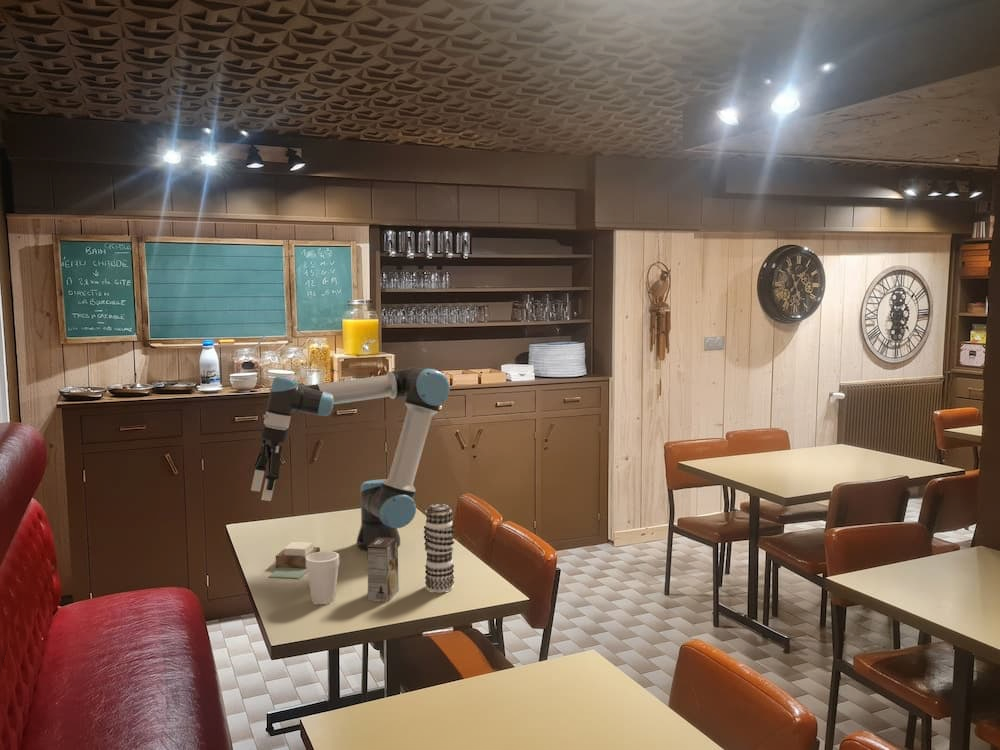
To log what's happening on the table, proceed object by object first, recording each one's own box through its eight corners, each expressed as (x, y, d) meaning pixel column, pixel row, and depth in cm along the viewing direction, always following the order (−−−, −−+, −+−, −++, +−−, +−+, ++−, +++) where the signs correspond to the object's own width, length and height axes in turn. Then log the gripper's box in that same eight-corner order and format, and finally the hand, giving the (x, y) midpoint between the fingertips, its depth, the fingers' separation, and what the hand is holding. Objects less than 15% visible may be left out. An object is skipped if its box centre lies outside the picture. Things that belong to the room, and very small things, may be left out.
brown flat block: (320, 559, 256) (319, 547, 255) (308, 569, 246) (308, 557, 245) (288, 557, 257) (288, 546, 257) (275, 567, 247) (275, 555, 247)
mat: (309, 569, 245) (309, 568, 245) (299, 579, 237) (299, 577, 237) (279, 568, 247) (279, 567, 247) (268, 577, 239) (268, 576, 238)
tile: (313, 549, 253) (313, 542, 253) (305, 556, 247) (304, 549, 246) (292, 548, 254) (292, 541, 254) (284, 555, 247) (284, 548, 247)
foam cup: (310, 609, 214) (309, 564, 213) (303, 598, 222) (301, 554, 221) (344, 603, 218) (343, 558, 217) (335, 592, 226) (334, 549, 225)
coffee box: (378, 588, 229) (377, 536, 228) (399, 590, 228) (398, 537, 226) (367, 600, 220) (366, 546, 219) (388, 602, 219) (387, 547, 217)
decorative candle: (455, 593, 226) (454, 509, 223) (423, 593, 225) (422, 510, 223) (455, 581, 235) (454, 501, 232) (424, 582, 234) (423, 502, 232)
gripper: (253, 420, 244) (239, 485, 243) (273, 431, 223) (258, 503, 222) (277, 423, 248) (263, 488, 247) (298, 435, 226) (283, 506, 226)
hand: (260, 495), depth 235 cm, fingers open, 13 cm apart
